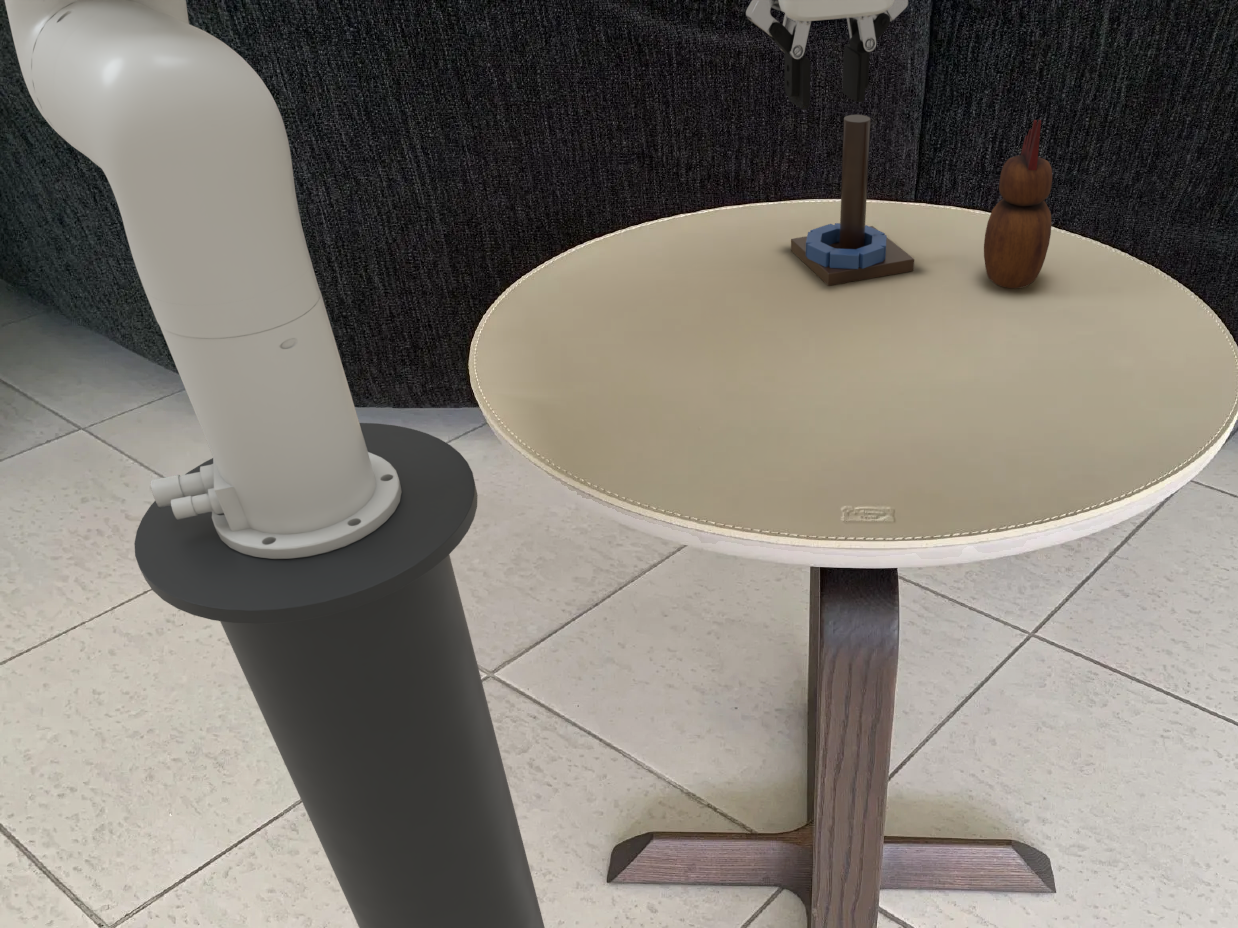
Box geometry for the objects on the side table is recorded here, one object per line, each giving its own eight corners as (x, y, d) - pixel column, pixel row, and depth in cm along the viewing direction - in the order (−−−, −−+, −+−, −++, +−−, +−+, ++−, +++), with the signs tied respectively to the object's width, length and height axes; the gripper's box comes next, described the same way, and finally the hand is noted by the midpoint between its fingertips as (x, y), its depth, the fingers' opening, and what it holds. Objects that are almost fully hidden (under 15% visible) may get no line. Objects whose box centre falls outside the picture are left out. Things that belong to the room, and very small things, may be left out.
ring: (843, 276, 99) (843, 261, 98) (790, 250, 103) (790, 236, 102) (902, 255, 103) (903, 240, 102) (848, 231, 107) (849, 217, 106)
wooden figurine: (1035, 300, 98) (1062, 128, 88) (973, 290, 99) (993, 120, 90) (1047, 271, 103) (1075, 106, 93) (988, 262, 104) (1010, 99, 95)
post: (828, 286, 100) (832, 139, 91) (790, 250, 106) (791, 110, 98) (913, 271, 103) (925, 127, 94) (872, 237, 109) (879, 99, 100)
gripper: (747, -142, 77) (752, 124, 89) (953, -150, 82) (931, 102, 94) (712, -153, 82) (720, 100, 94) (907, -160, 87) (892, 80, 99)
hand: (826, 99), depth 94 cm, fingers open, 4 cm apart
